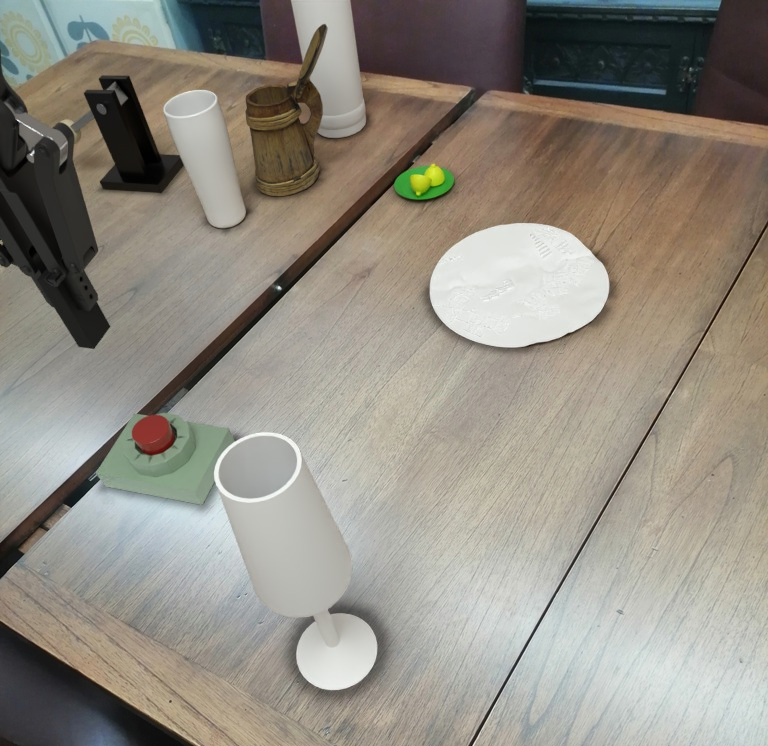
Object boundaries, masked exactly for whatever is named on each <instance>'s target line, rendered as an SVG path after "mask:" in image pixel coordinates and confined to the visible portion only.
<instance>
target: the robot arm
mask: <svg viewBox="0 0 768 746" xmlns="http://www.w3.org/2000/svg"><path fill="white" fill-rule="evenodd" d="M60 122H61V121H59V122H57V123H55V125H54V126H53V127H50V126H49V125H47V124H46V123H44V122H42V121H40V120H39V119H37V118H36V117H35V116H32V115H31V114H30V113H29V112H28V107H27V106H26V103H25V101H24V100H23V99H22V97H21V96H20V95H19V94H18V93H17V92H16V91H15V90H14V89H13V87H12V86H11V85H10V84H9V82H8V81H7V79H6V78H5V75H4V73H3V67H2V50H1V48H0V242H2V244H1V243H0V266H1V267H3V268H9V267H10V266H11V265H13V266H15V267H18V269H19V270H20V271H21V273H23V274H24V275H25V276H27V277H30V278H31V279H32V281H33V283H34V284H35V286H36V287H37V289H38V290H39V292H40V294H41V295H42V296H43V299H44V300H45V302H46V303H47V304H48V305H49V306H50V307H51V308H53V309H54V310H55V311H56V313H57V314H58V316H59V318H60V319H61V321H62V323H63V324H64V326H65V328H66V329H67V331H68V333H69V334H70V336H71V337H72V339H73V340H74V342H75V344H76V346H77V347H78V348H82V349H90V350H95V349H96V348H97V347H98V344H99V343H100V342H101V340H102V339H103V338H104V337H105V335H106V334H107V332H108V331H109V329H110V328H111V325H110V323H109V321H108V319H107V317H106V316H105V314H104V312H103V310H102V308H101V306H100V305H99V303H98V301H99V295H98V292H97V291H96V289H95V287H94V285H93V283H92V281H91V280H90V278H89V276H88V274H87V272H86V268H87V267H88V266H89V264H90V263H91V262H92V260H93V259H94V258H95V257H96V255H97V254H99V247H98V243H97V240H96V236H95V233H94V229H93V226H92V225H93V224H92V222H91V219H90V215H89V211H88V208H87V204H86V201H85V197H84V194H83V190H82V187H81V184H80V180H79V177H78V173H77V170H76V165H75V162H74V149H75V144H74V139H75V137H74V133H73V131H72V130H71V129H70V127H69V126H67V125H66V124H64V123H60Z"/></svg>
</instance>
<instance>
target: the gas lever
mask: <svg viewBox="0 0 768 746" xmlns="http://www.w3.org/2000/svg"><path fill="white" fill-rule="evenodd" d="M105 90H115V92H116V94H117V97H118V99H119V101H120V104H121V106H122V105H123V103H124V102H125V101H126V100H127V99H128V97H127V96H126V94H125V93H124V92H123V91H122V89H121V88H120V87H119V86H118V84H117V83H116V82H114V83H113V84H111V85H110V86H109V87H108V88H106V89H105ZM93 120H95V118H94V116H93V114H92V111H91V109H90V108H89V110H88V111H86V112H85V113H84V114H83V115H81V116H80V117H79V118H78V119H76V120H75V121H73V120H71V119H69V118H68V119H66V118H65V119H62V120H60V121H59V122H60V123H64V124H66V125H67V126H69V127H70V129H71V130H72V131H73V133H74V137H75V139H74V145H76V144H78V143H79V142H80V140H81V137H82V131H81V129H82V128H84V127H85V126H86V125H88V124H89V123H91V122H92V121H93Z"/></svg>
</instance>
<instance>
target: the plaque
mask: <svg viewBox="0 0 768 746" xmlns="http://www.w3.org/2000/svg"><path fill="white" fill-rule="evenodd" d="M609 293H610V279H609V274H608V271H607V270H606V267H605V266H604V264H603V263H602V262H601V260H599V259H598V258H597V257H596V256H595V255H594V254H593V252H592V250H590V249H589V248H588V247H587V246H585V244H583V242H582V241H581V240H580V239H579V238H577V237H576V236H575V235H574V234H572V233H571V232H569V231H567V230H564V229H562V228H559V227H557V226H554V225H548V224H541V223H535V222H534V223H533V222H524V223H523V222H516V223H514V222H513V223H508V224H498V225H494V226H492V227H488V228H485V229H481V230H478V231H476V232H473V233H471V234H470V235H468V236H466V237H464V238H462V239H461V240H459V241H458V242H457V243H455V244H454V245H452V246H451V247H450V248H449V249H448V250H446V252H445V253H444V254H443V255H442V256H441V258H440V259H439V260H438V262H437V264H436V265H435V267H434V269H433V272H432V274H431V277H430V282H429V298H430V303H431V307H432V308H433V311H434V312H435V314H436V315H437V317H438V318H439V320H441V322H442V323H443V324H444V325H445V326H446V327H447V328H449V330H451V331H453V332H454V333H456V334H457V335H459V336H460V337H463V338H465V339H467V340H470V341H473V342H475V343H479V344H482V345H487V346H492V347H495V348H496V347H497V348H522V347H523V348H524V347H527V346H529V345H534V344H539V343H544V342H550V341H553V340H557V339H560V338H562V337H564V336H565V335H567V334H569V333H573V332H575V331H577V330H579V329H581V328H583V327H584V326H586V325H588V324H589V323H590V322H592V321H593V320H594V319H595V318H596V317H597V316H598V315H599V314H600V313H601V311H602V310H603V308H604V306H605V304H606V302H607V300H608V297H609Z"/></svg>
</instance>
